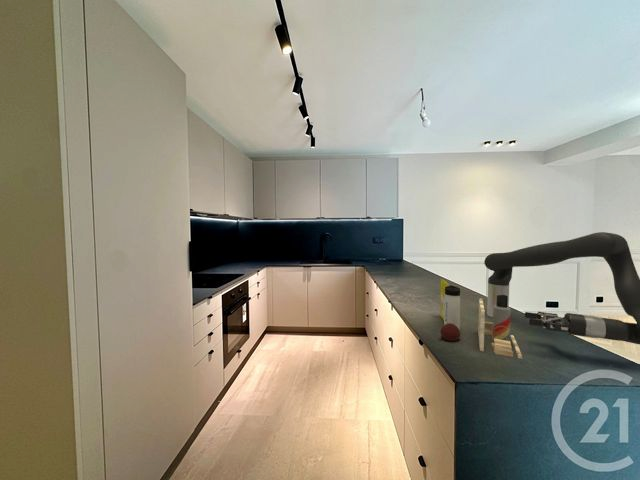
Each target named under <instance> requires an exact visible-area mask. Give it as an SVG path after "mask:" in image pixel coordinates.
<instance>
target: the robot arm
mask: <svg viewBox="0 0 640 480" xmlns="http://www.w3.org/2000/svg"><path fill="white" fill-rule="evenodd" d="M591 257H592V258H603V259H604V260H605V261H606V263H607V264H608V266H609V267H610V271H611V273H612V277H613V286H614V290H615V294H616V297H617V299H618V300H619V303H620V305H621V306H622V309H623V311H624V312H625V313H626V314H627V315H628V316H630V317H632V318H633V320H634V321H635V322H636V323H634V322H628V321H623V320H620V319H615V318H607V317H601V316H600V317H599V316H595V315H588V314H581V313H570V312H566V313H565V314H564V316H559V315H558V313H553V312H544V311H537V312H530V311H524V318H526V319H528V324H529V325H530V326H536V327H541V328H544V329H545V330H547V331H555V332H561V333H566V334H567V335H570V336H578V337H584V338H592V339H603V340H612V341H617V342H626V343H630V344H636V345H640V276H639V274H638V271H637V269H636V267H635V264H634V261H633V257H632V252H631V250H630V246H629V244H628V241H627V239H626V238H625V237H624V236H622V235H620V234H617V233H612V232H605V231H603V232H602V231H600V232H594V233H590V234H586V235H584V236H580V237H577V238H571V239H568V240H563V241H562V240H561V241H560V240H559V241H555V242H554V241H553V242H548V243H547V242H546V243H542V244H540V243H539V244H536V245H531V246H528V247H524V248H520V249H516V250H512V251H507V252H493V253H489V254H488V255H487V256H486V257H485V259H484V265H485V267H486V268H487V269H488V270H489V271H493V273H492V274H491V276H489V277H488V279H487V303H486V304H487V307H486V309H487V310H486V315H487V316H488V317H490V318H492V319H493V306H494V305H496V296H497V295H507V296H508V307H509V306H510V282H511V280H512V278H513V277H512V275H513V268H518V267H521V268H523V267H540V266H542V267H543V266H549V265H555V264H559V263H561V262H564V261H568V260H571V259H577V258H578V259H580V258H591ZM509 308H510V307H509Z"/></svg>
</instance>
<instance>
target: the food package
mask: <svg viewBox="0 0 640 480" xmlns="http://www.w3.org/2000/svg"><path fill="white" fill-rule="evenodd" d="M447 286H450V284H449V283H448V282H447V281H446V280H444V279H442V278H440V302H439V303H440V309H439V315H440V317H441V319H442V321H444V305H445V287H447Z"/></svg>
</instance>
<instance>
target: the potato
mask: <svg viewBox="0 0 640 480" xmlns="http://www.w3.org/2000/svg"><path fill="white" fill-rule="evenodd" d="M440 336H441V337H442V339H444V340H445V341H448V342H457V341H458V340H459V339H460V338H461V331H460V328H459V329H458V327H457V326H456V325H454V324H452V323H448V324H445V325H444V324H443V326H441V328H440Z"/></svg>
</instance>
